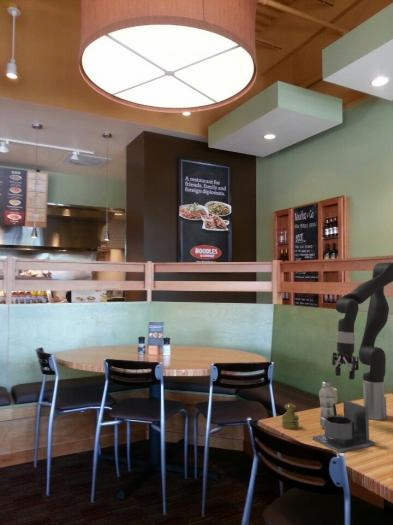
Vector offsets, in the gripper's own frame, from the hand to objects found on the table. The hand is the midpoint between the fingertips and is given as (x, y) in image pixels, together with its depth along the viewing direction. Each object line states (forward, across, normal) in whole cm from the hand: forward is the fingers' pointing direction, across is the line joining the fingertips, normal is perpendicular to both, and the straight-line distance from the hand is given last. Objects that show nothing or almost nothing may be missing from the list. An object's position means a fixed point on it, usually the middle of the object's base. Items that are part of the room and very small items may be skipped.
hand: (344, 377), depth 190 cm
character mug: (+21, +11, -2) cm, 23 cm away
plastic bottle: (+22, -1, +10) cm, 24 cm away
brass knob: (+23, +7, +24) cm, 34 cm away
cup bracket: (+22, -17, +16) cm, 32 cm away
